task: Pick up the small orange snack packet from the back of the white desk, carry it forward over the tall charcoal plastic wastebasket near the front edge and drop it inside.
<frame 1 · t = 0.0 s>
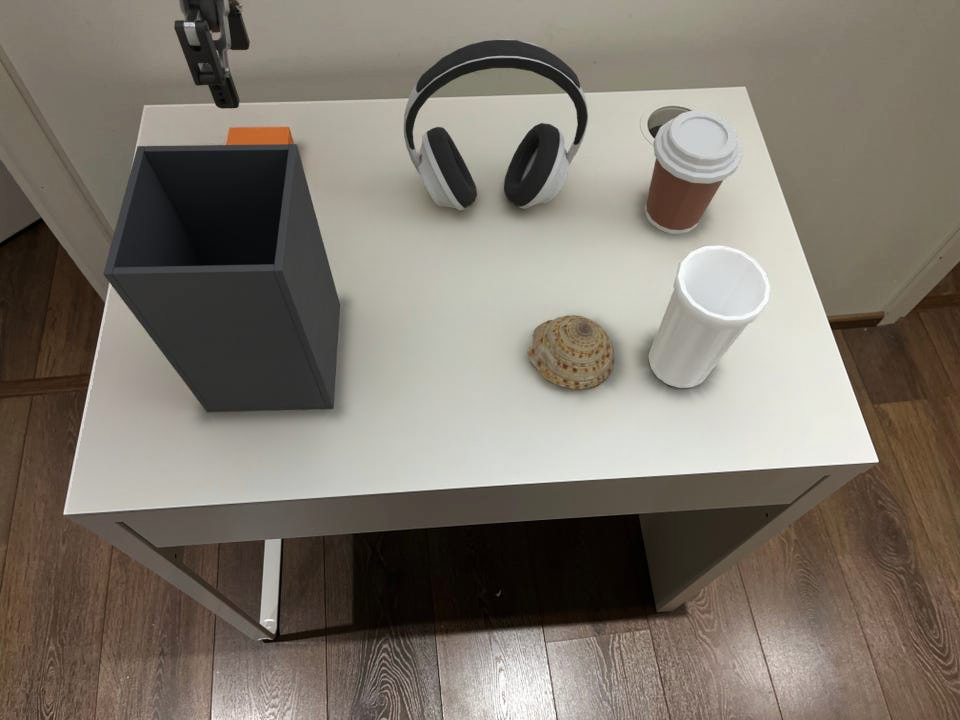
hand: (234, 76, 70), 14 cm above the table, tool pointing down, fingers open, 8 cm apart
wastebasket: (276, 356, 71), on the table
coffee cup: (671, 213, 82), on the table
packet: (264, 161, 84), on the table
headphones: (491, 196, 82), on the table
seashell: (570, 358, 72), on the table
cup: (677, 363, 72), on the table
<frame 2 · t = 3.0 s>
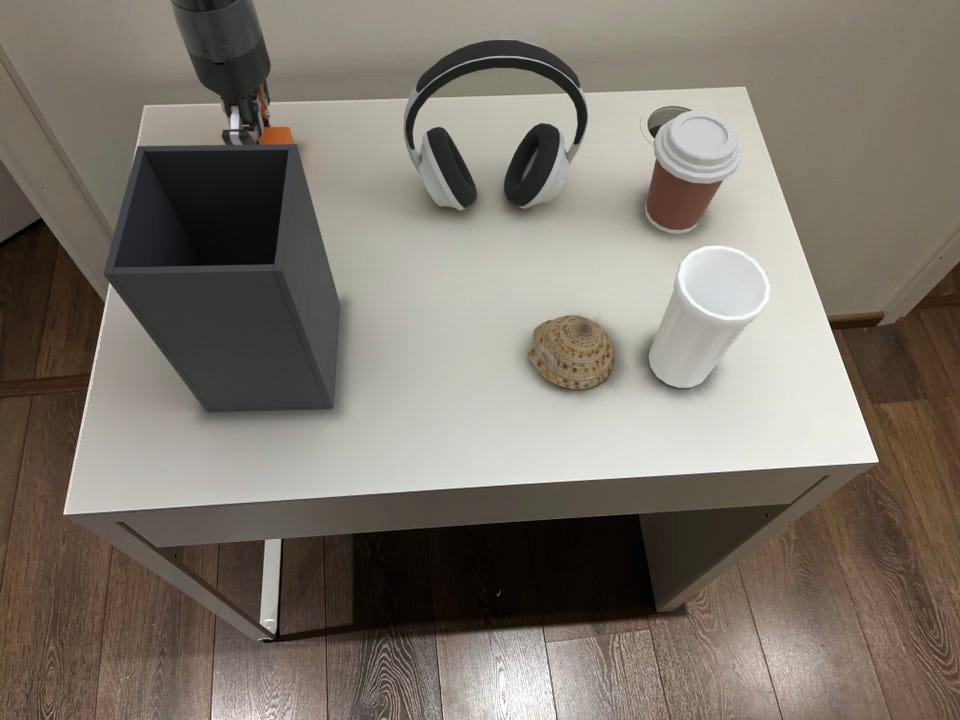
hand: (264, 159, 84), 0 cm above the table, tool pointing down, fingers closed on packet, 4 cm apart
packet: (264, 161, 84), on the table, touching gripper
everything else where it was.
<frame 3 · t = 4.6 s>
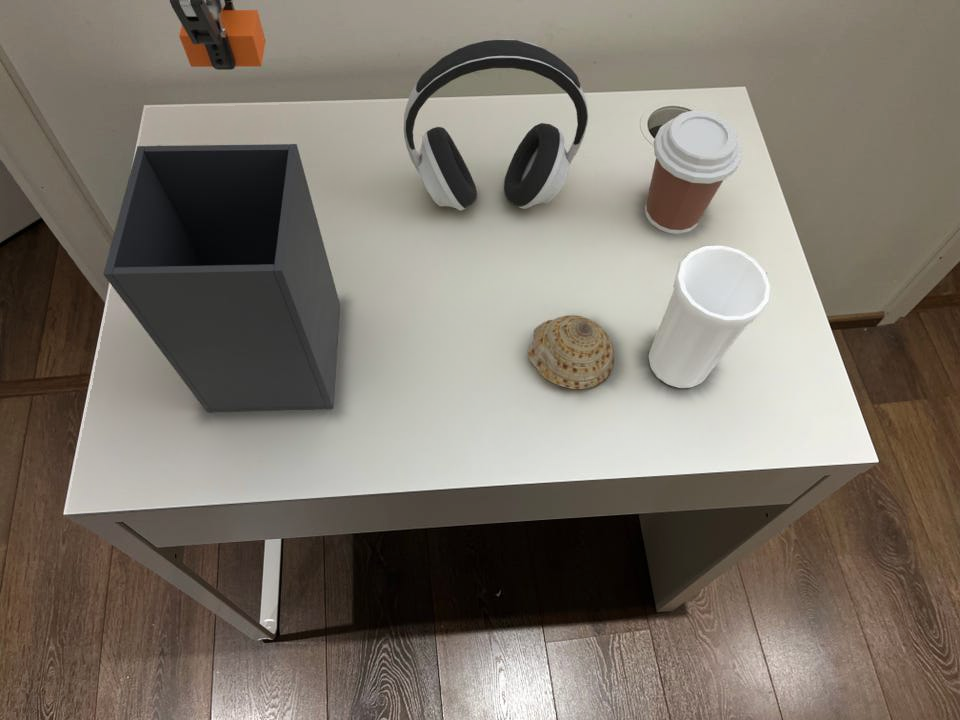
hand: (227, 51, 71), 15 cm above the table, tool pointing down, fingers closed on packet, 4 cm apart
packet: (228, 53, 71), point 15 cm above the table, touching gripper
everything else where it was.
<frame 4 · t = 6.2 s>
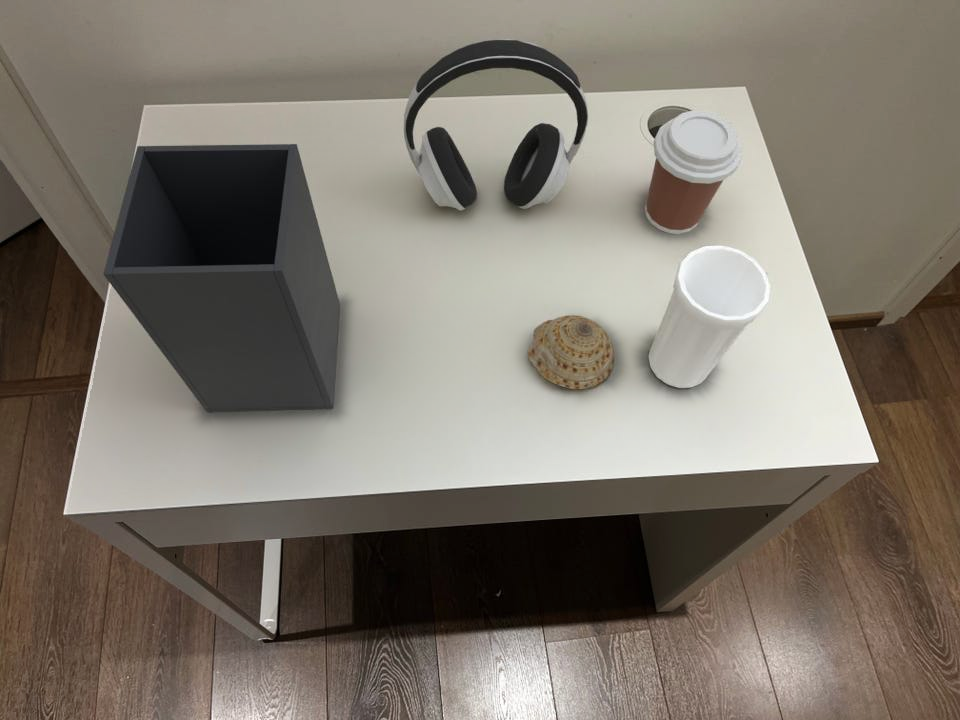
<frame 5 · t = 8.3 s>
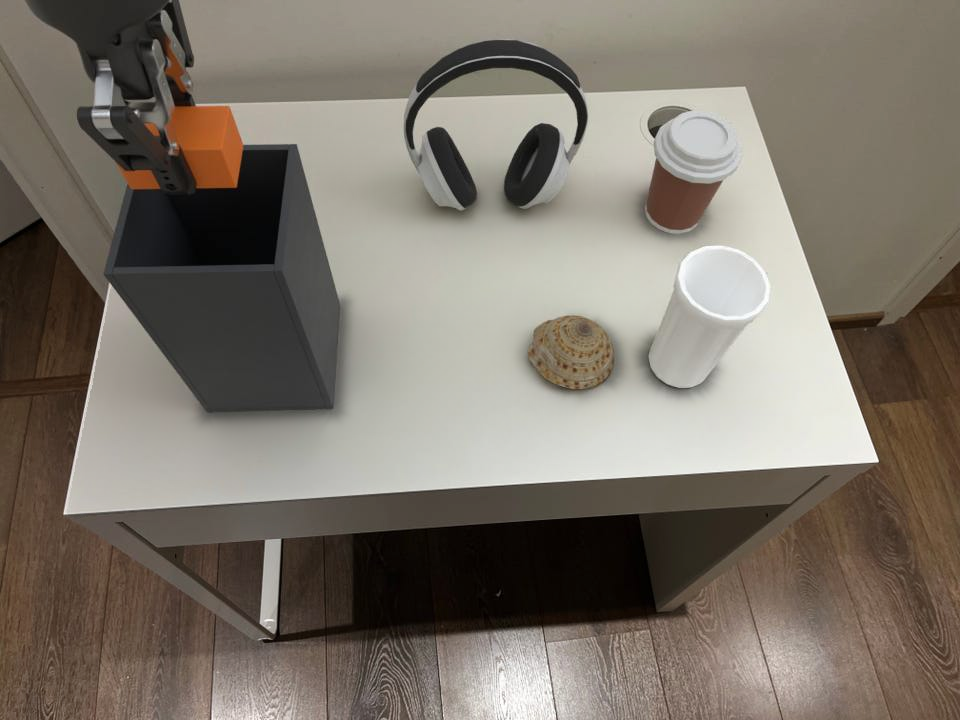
hand: (186, 164, 48), 27 cm above the table, tool pointing down, fingers closed on packet, 4 cm apart
packet: (188, 167, 48), point 26 cm above the table, touching gripper
everything else where it was.
when the fingers open (23 cm above the table, at t = 9.7 s): packet drops 22 cm, resting on wastebasket.
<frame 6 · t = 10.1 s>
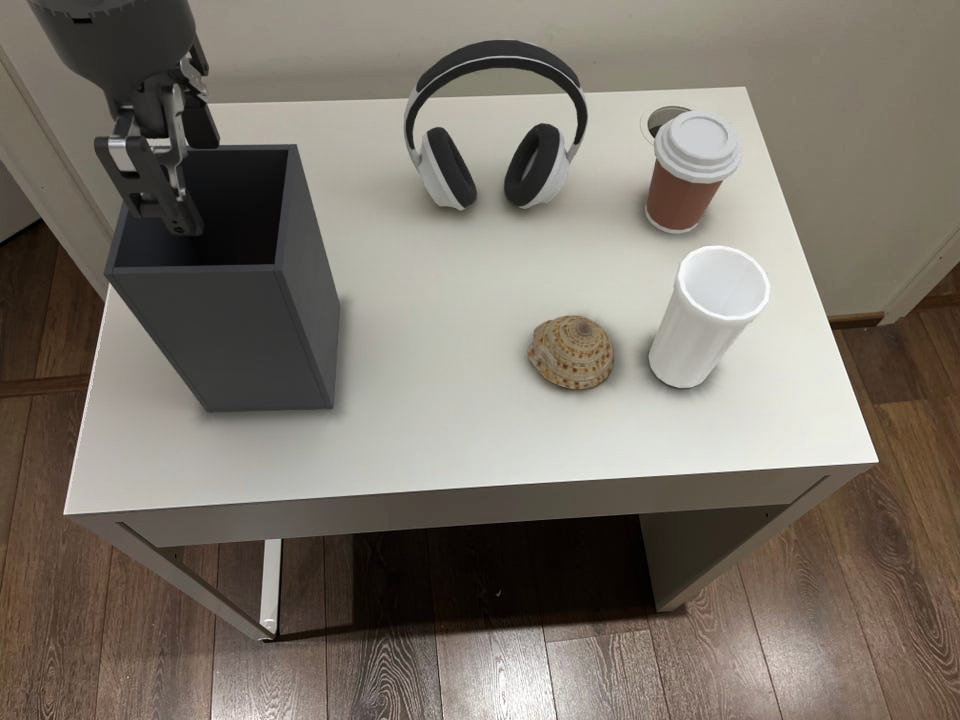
hand: (198, 187, 50), 24 cm above the table, tool pointing down, fingers open, 7 cm apart
packet: (275, 352, 70), point 1 cm above the table, touching wastebasket
everything else where it was.
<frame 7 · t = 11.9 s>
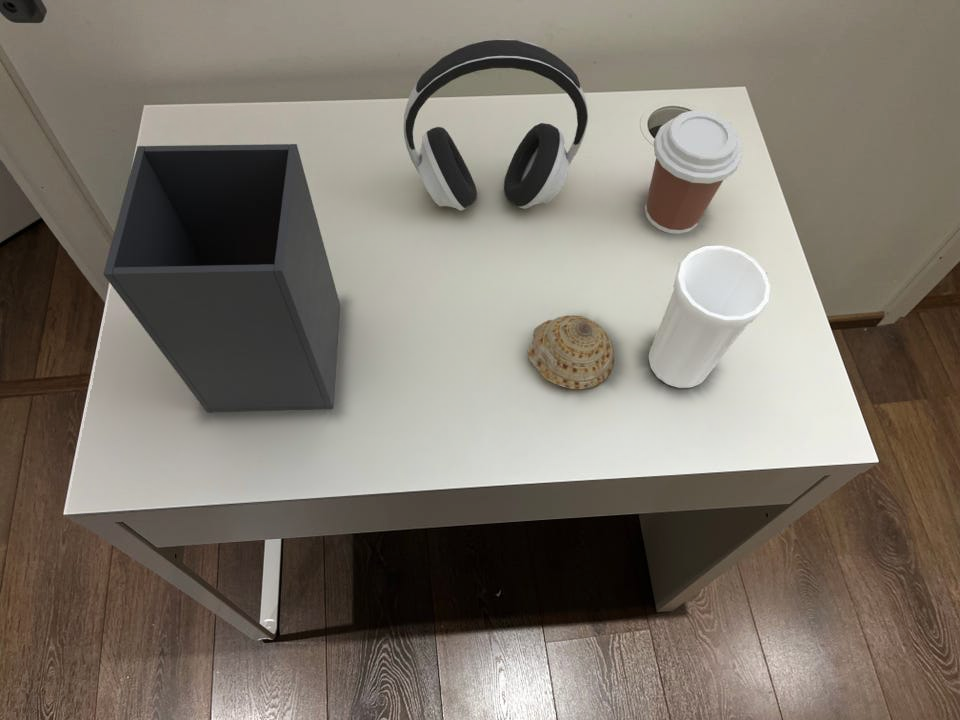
nothing on the table moved.
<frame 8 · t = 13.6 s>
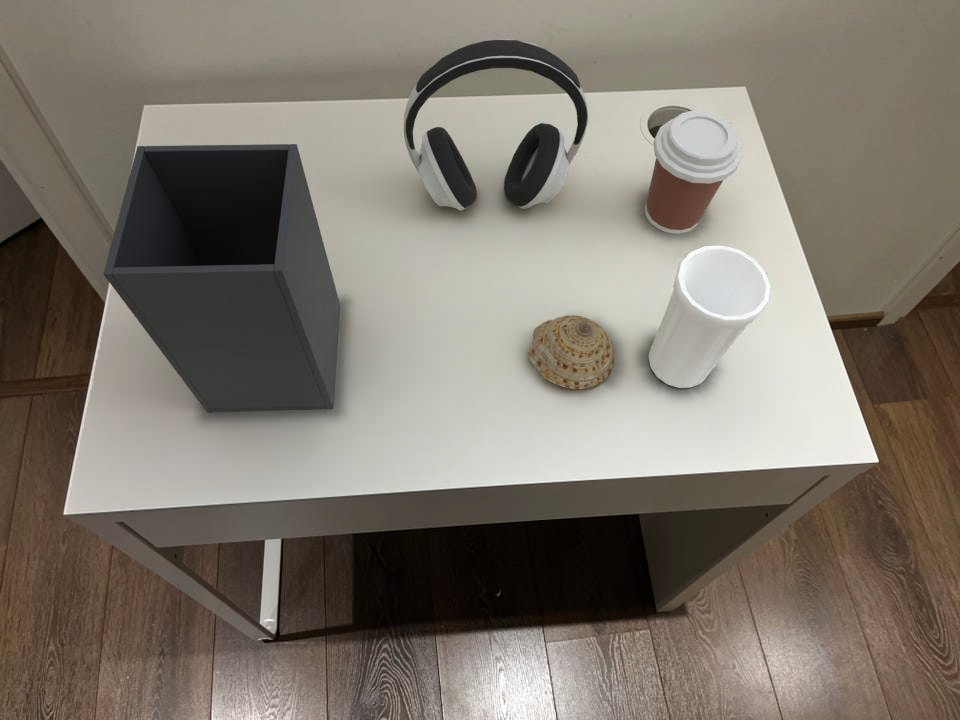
nothing on the table moved.
at the end: packet inside the target area in the wastebasket (0.1 cm from its centre), point 0.6 cm above the wastebasket's base; the gripper is holding nothing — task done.
